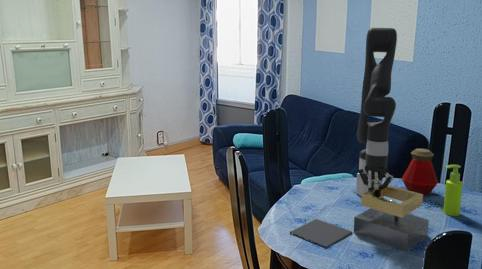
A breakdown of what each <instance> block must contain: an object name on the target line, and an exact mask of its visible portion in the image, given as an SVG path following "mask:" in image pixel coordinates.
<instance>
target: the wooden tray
mask: <svg viewBox="0 0 482 269" xmlns="http://www.w3.org/2000/svg"><path fill="white" fill-rule="evenodd" d="M375 189H376V188H374V189H372V190H370V191H368V192H366V193H364V194H362V196H361V201H360V205H361V206H362V207H365V208H369V209H370V208H372V209H375V210H378V211H381V212H385V213H388V214H391V215H394V216H398V217H401V218H403V217H404V216H406V215H407V214H410V213H412V212H414V211H415V210H417V209H418V208H419V207H421V206H422V205H423V200H424V196H423V194H420V193H416V192H412V191H408V190H407V189H404V188H400V187H396V186H392V185H390V184H389V185H388V186H387V187H386V188H384V189H381V196H380V197H379V198H378V197H375ZM384 197H386V198H390V199H392V200H395V202H392V201H389V200H390V199H389V200H388V199H386V198H385V199H384ZM396 201H399V202H400V201H401V203H399V202H396Z"/></svg>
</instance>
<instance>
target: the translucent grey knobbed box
mask: <svg viewBox="0 0 482 269" xmlns="http://www.w3.org/2000/svg"><path fill="white" fill-rule="evenodd" d="M389 201H392V202H396V200H395V199H389ZM353 217H354V218H353V219H354V220H353V233H355V234H357V235H360V236H363V237H366V238H369V239H372V240H375V241H377V242H380V243H382V244H386V245H388V246H391V247H394V248H396V249H400V250H403V251H405V252H407V251H409V250H410V249H411V248H413V247H414V246H416V245H417V244H418V243H420V242H421V241H422V240H424V239H425V238H427V236H429V234H428V232H429V224H430V223H429V222H430V219H427V218H424V217H419V216H417V215H414V214H410V213H409V214H407V215H406V216H404V217H403V218H401V217H398V216H394V215H391V214H388V213H385V212H381V211H378V210H375V209H372V208H369V209H367V210H365V211H363V212H361V213H359V214H357V215H356V216H353Z"/></svg>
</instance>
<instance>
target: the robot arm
mask: <svg viewBox="0 0 482 269" xmlns="http://www.w3.org/2000/svg"><path fill="white" fill-rule="evenodd" d="M396 30H397V29H395V28H392V27H370V28H369V29H368V31H367V34H366V38H365V39H366V40H365V57H364V58H365V60H364V62H365V64H364V73H363V80H362V89H361V102H360V103H361V105H360V113H359V117H358V118H359V119H358V123H357V131H356V132H357V133H356V138H357V141H358V142H359V144H360V143H361V144H365V145H366V146H365V147H366V148H364V149H362V150H360V152H359V162H358V164H359V165H358V171H357V173H356V187H355V188H356V189H355V194H357V195H358V196H360V197H362V194H364V193H366V192H368V191H370V190H372V189H374V188H376V189H375V197H378V198H379V197H380V196H381V189H384V188H386V187H387V186H388V185H389V186H390V183H391V182H392V181H393V180H394V178H395V176H394V175H391V174H390V173H389V172H388V162H389V160H388V159H389V158H388V157H389V132H390V126H391V122H392V119H393V117H394V114H395V111H396V107H397V104H396V103H397V102H396V100H395V99H394V98H393V97H390V96H388V95H389V94H390V93H391V89H392V71H393V67H394V60H395V56H396V50H397V42H398V33H397V31H396ZM375 53H385V55H384V56H383V58H382V59H381V60H380V61H379V62H378V64H377V61H376V58H375V55H374V54H375ZM370 117H373V118H375V117H376V118H383V119H382V120H380V121H377V122H376V121H375V122H372V121H371V122H370V121H369V119H370ZM384 177H385V178H384ZM384 179H385V180H384Z"/></svg>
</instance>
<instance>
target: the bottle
mask: <svg viewBox="0 0 482 269" xmlns="http://www.w3.org/2000/svg"><path fill="white" fill-rule="evenodd" d="M410 155H411V158H412V159H411V161H410V163H409V165H408V167H407V168H406V170H405V172H404V173H403V176H402V177H401V181H402V182H403V184H404V187H405V189H406V190H408V191H412V192H416V193H420V194H423V197H428V196H430V195H431V193H432V191H433V190H434V189H435V187H436V186H437V185H438V183H439V180H438V177H437V174H436V171H435V168H434V165H433V162H432V159H433V157H434V155H435V154H434V153H433V152H432V151H431V150H429V149H426V148H415V149H414V150H412V151H411V152H410Z"/></svg>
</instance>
